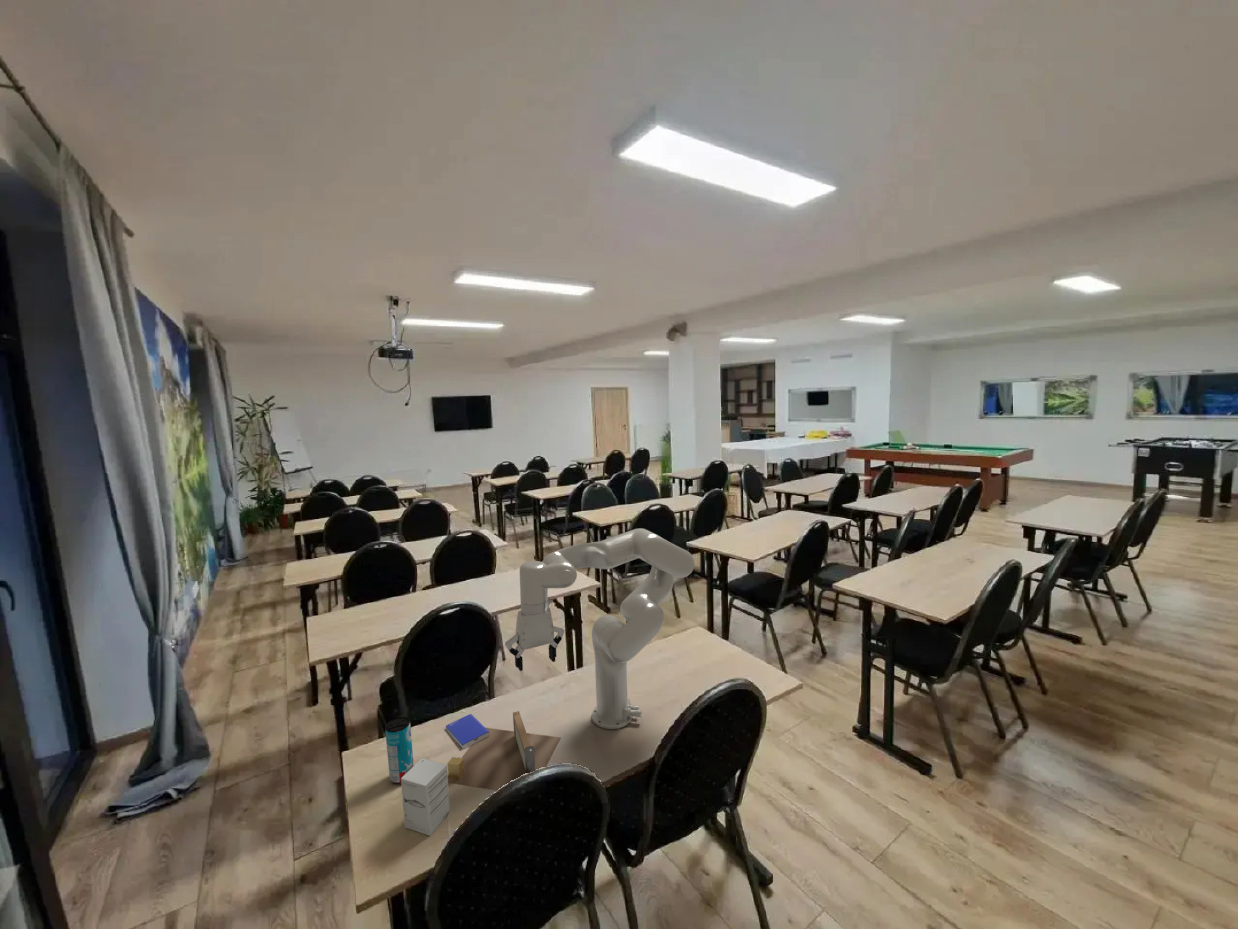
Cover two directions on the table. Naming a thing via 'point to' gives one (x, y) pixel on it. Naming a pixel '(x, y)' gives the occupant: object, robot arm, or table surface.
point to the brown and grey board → (520, 734)
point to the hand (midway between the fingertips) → (536, 664)
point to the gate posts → (458, 764)
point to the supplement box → (425, 796)
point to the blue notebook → (467, 731)
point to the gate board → (501, 759)
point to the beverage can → (399, 748)
